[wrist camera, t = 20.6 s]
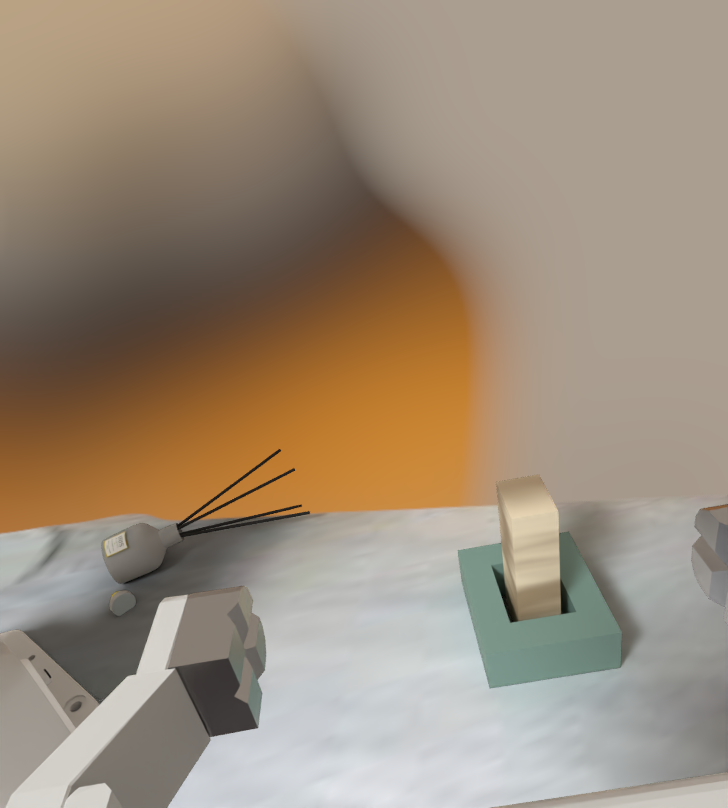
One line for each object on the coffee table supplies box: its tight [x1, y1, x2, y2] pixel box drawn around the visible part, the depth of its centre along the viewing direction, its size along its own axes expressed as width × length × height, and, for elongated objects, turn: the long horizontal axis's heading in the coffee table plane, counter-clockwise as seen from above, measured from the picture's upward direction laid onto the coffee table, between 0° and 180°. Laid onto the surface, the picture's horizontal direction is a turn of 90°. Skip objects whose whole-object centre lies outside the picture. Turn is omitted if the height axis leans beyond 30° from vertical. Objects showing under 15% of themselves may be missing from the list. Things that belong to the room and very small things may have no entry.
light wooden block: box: [496, 475, 561, 622], centre depth 43 cm, size 4×3×12 cm
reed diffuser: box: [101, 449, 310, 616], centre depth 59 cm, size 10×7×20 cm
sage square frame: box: [458, 532, 622, 688], centre depth 45 cm, size 10×9×4 cm
